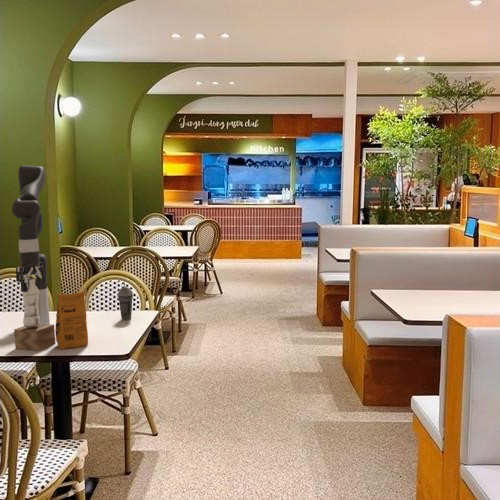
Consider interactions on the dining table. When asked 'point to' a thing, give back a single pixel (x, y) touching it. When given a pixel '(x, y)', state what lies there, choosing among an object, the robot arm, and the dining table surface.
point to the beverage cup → (125, 302)
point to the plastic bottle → (31, 304)
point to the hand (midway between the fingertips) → (31, 289)
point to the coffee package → (71, 321)
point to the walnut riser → (34, 337)
